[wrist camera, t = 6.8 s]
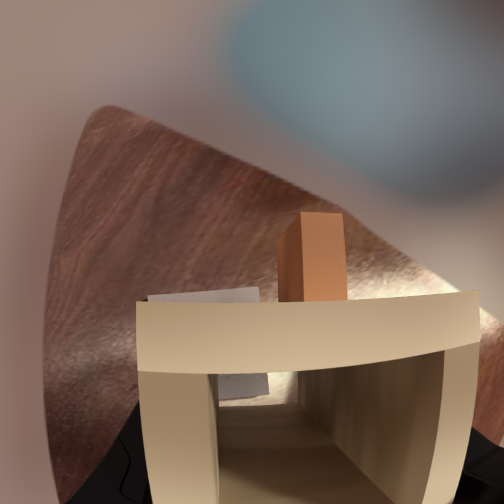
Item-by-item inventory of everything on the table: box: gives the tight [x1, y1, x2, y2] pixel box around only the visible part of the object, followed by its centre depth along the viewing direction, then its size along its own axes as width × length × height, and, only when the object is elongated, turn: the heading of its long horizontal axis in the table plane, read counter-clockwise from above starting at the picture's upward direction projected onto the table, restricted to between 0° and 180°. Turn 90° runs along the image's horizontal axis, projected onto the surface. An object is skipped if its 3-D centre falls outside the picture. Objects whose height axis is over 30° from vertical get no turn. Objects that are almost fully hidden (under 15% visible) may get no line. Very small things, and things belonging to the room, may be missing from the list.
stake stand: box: [148, 287, 269, 400], centre depth 20 cm, size 8×8×4 cm
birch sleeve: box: [136, 212, 480, 504], centre depth 9 cm, size 8×6×11 cm
